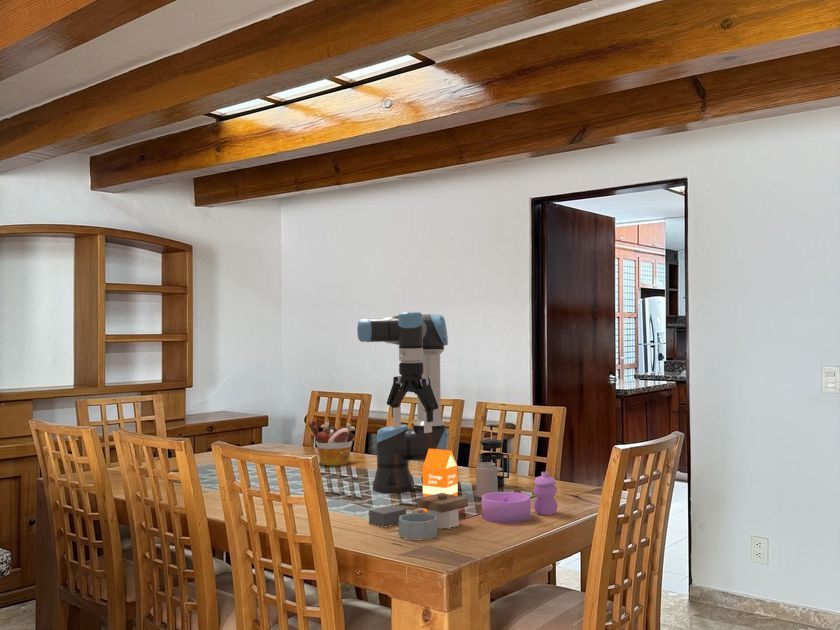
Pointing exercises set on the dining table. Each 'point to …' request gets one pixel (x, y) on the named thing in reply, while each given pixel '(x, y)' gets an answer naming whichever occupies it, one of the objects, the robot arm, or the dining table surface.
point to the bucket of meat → (333, 443)
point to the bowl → (446, 518)
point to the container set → (520, 502)
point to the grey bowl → (418, 526)
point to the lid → (442, 502)
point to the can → (486, 478)
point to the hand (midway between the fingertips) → (412, 430)
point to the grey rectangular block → (386, 515)
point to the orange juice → (439, 473)
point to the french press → (495, 456)
